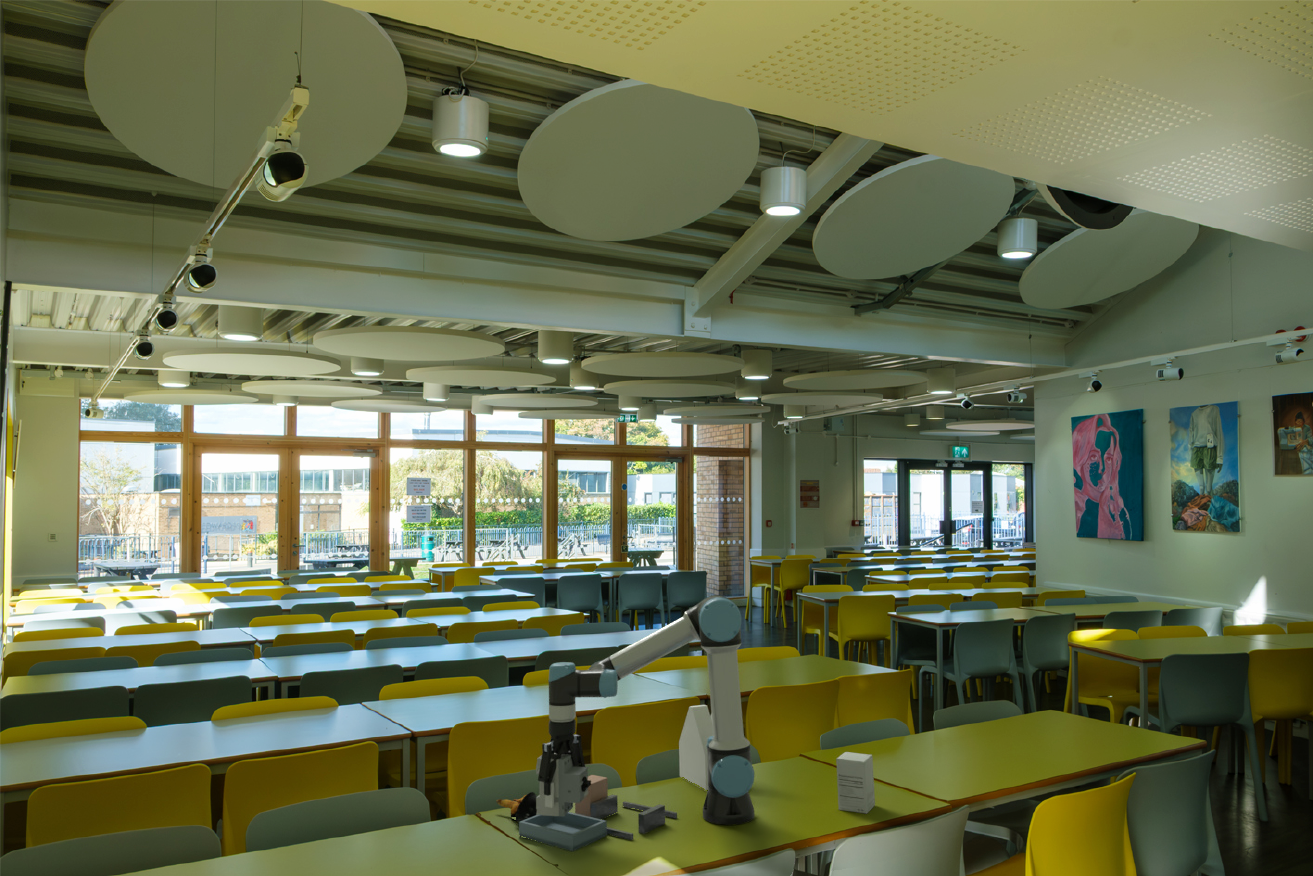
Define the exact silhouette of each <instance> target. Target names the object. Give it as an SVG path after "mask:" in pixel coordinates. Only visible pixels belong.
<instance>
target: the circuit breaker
mask: <svg viewBox="0 0 1313 876" xmlns="http://www.w3.org/2000/svg"><path fill="white" fill-rule="evenodd" d="M554 754H555V753H554ZM541 759H542V755H540V756H539V757H537V758H536V766H535V769H536V772H535V775H538V776H539V770H540V764H541ZM553 760H554V759H551V762H552V761H553ZM588 769H589V768H588V767H587V766H585V767H574V766H573V763H572V759H571V754H565V753H564V754H563V755H562V756H561V758H560V759H557V760H556V770H555V773H554V776H553V780H552V782H554V808H550V807H546V806H545V795H544V783H543V782H541V781H538V783H539V786H538V787H539V794H538V795H537V796H536V809H537V813H536V815H546V816H565V815H566V814H567V813H568V812H571V810H573V808H574V804H575V803H580V802H581V801H582V800H583V799H584V798H585V797H586V796H587V795H588V787H589V786H590V785H591V780H588V776H589V775H588V774H589V771H588ZM548 778H549V777H548ZM538 804H539V805H538Z"/></svg>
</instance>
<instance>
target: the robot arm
mask: <svg viewBox="0 0 1313 876" xmlns="http://www.w3.org/2000/svg"><path fill="white" fill-rule="evenodd" d="M742 622H743V621H742V614H741V611H740V609H739V607H738V606H737V604H735V602H734V601H732V600H731V599H729V598H728V597H726V596H725V595H720V594H713V595H710V596H707V597H705V598H704V599H702V600H701V601H700V602H698V603H697V604H696V605H694V606H692V607H690V608H689V609H687V610H686V611H684V613H683V616H682V617H680V618H678V619H676V620H674V621H672V622H671V623H668V624H667V625H665V626H663V627H662V628H661V627H660V628H659V629H658V630H655V631H654V632H651V633H650V634H648V635H646V636H645V637H642V638H641V639H639V640H637V641H635V642H633V643H632V644H630V645H628V646H626V647H624V648H623V649H620V650H619V651H616V652H615V653H613V654H612V655H609V656H608V657H606V658H604V659H602V660H598V661H595V662H594V663H593V664H591V666H590V667H589V668H588V669H577V668H576V664H575V663H574V662H571V661H570V662H566V661H562V662H561V661H560V662H554V663H552V664H551V665H550V666H549V669H548V670H549V671H548V672H549V673H548V719H549V721H548V734H549V735H550V740H549V742H547V743H545V742H543V743H542V745H541V746H542V747H541V749H542V751H541V753H542V754H541V756H542V759H541V764H540V770H539V769H538V771H539V775H538V777H537V780H538V782H539V781H541V782H543V783H544V795H545V806H546V807H550V808H554V782H552V780H553V776H554V773H555V770H556V760H557V759H560V758H561V756H562V755H563V754H564V753H565V754H571V759H572V763H573V766H574V767H586V764H585V763H586V762H585V757H584V752H583V747H582V735H579V734H575V733H576V731H577V730H576V726H577V725H576V723H577V721H576V720H575V718H576V714H577V713H576V712H577V711H576V698H603V699H606V698H612V697H613V698H614V697H616V696H617V695H618V689H619V688H618V681H621V680H622V679H623V678H626V677H628V676H630V675H632V674H633V673H635V672H637V671H639V670H640V669H643V668H644V667H646V666H648V665H649V664H652V663H653V662H655V661H657V660H659V659H661V658H663V657H665V656H667V655H668V654H670V653H672V652H674V651H676V650H677V649H680V648H682V647H683V646H685V645H687V644H689V643H692V641H695V640H696V641H700V647H701V648H702V649H703V650H704V651H705V652H706V658H707V659H706V660H707V673H708V685H709V697H710V710H711V713H712V725H713V736H710V737H709V738H708V740H707V746H706V747H707V760H708V791H706V792H707V793H706V795H705V799H704V804H703V806H702V818H703V819H704V820H705V821H707V822H709V823H712V824H717V825H723V824H725V825H727V826H729V825H731V826H732V825H733V824H736V825H742V823H743V824H746V822H747V823H749V822H751V821H753V820H754V819H755V807H754V805H753V802H752V798H751V795H750V793H749V792H750V790H751V789H752V787H753V784H754V781H755V770H754V766H753V764H752V762H753V761H752V754H751V752H752V751H751V742H750V740H748V739H747V737H745V735H744V734H745V733H744V723H743V710H742V698H741V687H740V686H741V685H740V674H739V672H740V671H739V663H738V662H739V661H738V650H739V648H740V647H741V645H742V643H743V642H742V632H741V627H742ZM554 753H555V754H554ZM551 759H554V760H553V761H552V762H551ZM548 777H549V778H548ZM725 825H724V826H725Z"/></svg>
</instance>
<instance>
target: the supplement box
mask: <svg viewBox="0 0 1313 876" xmlns="http://www.w3.org/2000/svg"><path fill="white" fill-rule="evenodd" d="M873 760H874V759H873V755H872V754H866V753H858V752H849V751H845V752H843V753H842V754H840V755H839V756H838V757H836V777H837V778H836V782H837V801H838V802H837V803H838V804H837V805H838V810H839V811H846V812H854V813H861V814H868V813H870V811H871V810H872V809H873V808H874V807H875V805H876V799H875V780H874V762H873Z"/></svg>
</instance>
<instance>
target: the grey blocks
mask: <svg viewBox="0 0 1313 876" xmlns="http://www.w3.org/2000/svg"><path fill="white" fill-rule="evenodd" d="M618 805H619V804H618V795H617V794H609V795H608V796H607V797H605V798H602V799H600V800H597V801H595V802H592V803H591V817H592V818H597V819H602V820H604V819H603V818H605V817H607V816H609V815H612V814H614V813H616V812H619V811H618V809H619V808H618V807H619V806H618ZM623 806H624V807H627V808H626V809H629V808H635V809H639V810H643V812H642V811H640V812H639V813H638V815H637V817H638V818H637V819H638V822H637V823H638V833H639V834H644V835H645V834H647V833H649V832H651V831H653V830H655V829H657V828H659V827H662V826H663V825H665V824H666V818H669V817H670V819H674V820H676V819H678V812H676V811H672V810H667V809H666V806H665V805H664V804H657V805H655V806H650V805H649V806H648V805H644V804H639V803H634V802H629V801H626V800H625V801H623V802H622V807H623ZM624 807H623V808H624ZM616 814H617V813H616ZM614 815H615V814H614ZM612 816H613V815H612ZM665 816H667V817H665ZM609 817H610V816H609ZM607 818H608V817H607ZM605 819H606V818H605ZM664 823H665V824H664ZM608 834H611V835H610V836H612V835H613V836H612V837H616V836H617V838H620V839H625V840H628V841H632V840H634V833H633V832H628V831H625V830H621V829H617V828H612V827H608V826H607V835H608Z"/></svg>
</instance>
